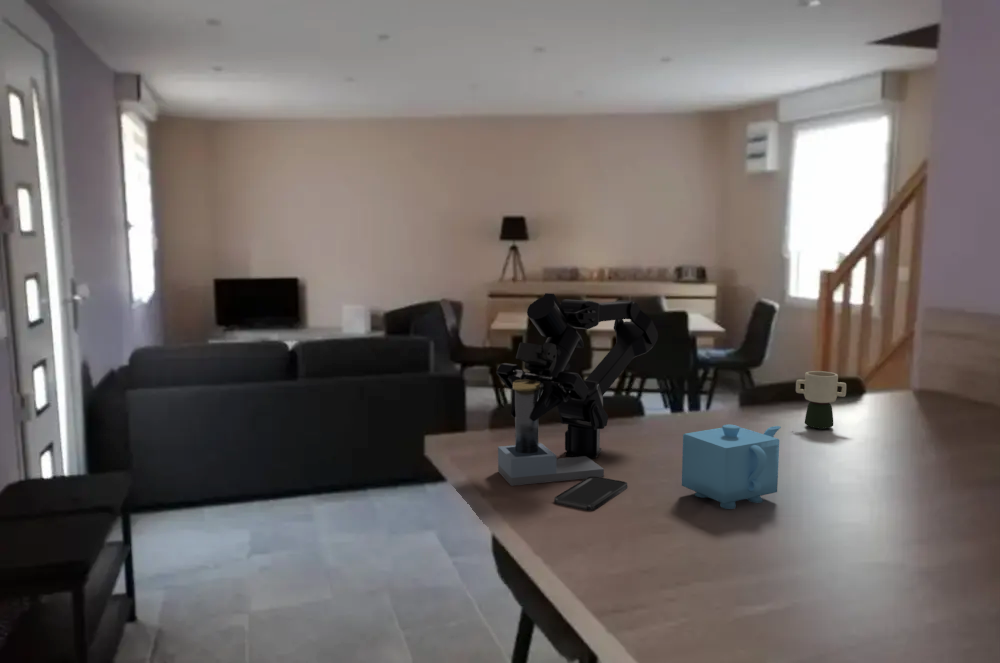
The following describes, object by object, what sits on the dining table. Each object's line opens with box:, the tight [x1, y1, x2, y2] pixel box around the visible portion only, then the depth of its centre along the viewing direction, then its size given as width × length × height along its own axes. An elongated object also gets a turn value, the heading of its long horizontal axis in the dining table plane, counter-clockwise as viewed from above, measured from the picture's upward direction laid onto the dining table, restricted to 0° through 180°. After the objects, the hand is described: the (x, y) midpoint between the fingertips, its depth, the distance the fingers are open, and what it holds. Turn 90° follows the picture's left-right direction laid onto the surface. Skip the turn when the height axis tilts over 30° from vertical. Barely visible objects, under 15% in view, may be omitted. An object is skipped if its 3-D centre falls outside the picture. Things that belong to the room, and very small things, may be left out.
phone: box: [553, 476, 628, 512], centre depth 136 cm, size 8×1×15 cm
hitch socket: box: [497, 442, 605, 487], centre depth 148 cm, size 18×9×5 cm, turn 106°
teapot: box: [681, 423, 782, 510], centre depth 135 cm, size 18×16×13 cm
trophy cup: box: [795, 370, 847, 429], centre depth 180 cm, size 11×7×13 cm, turn 65°
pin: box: [513, 379, 541, 454], centre depth 145 cm, size 5×5×13 cm
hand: (522, 417), depth 144 cm, fingers closed on pin, 4 cm apart
